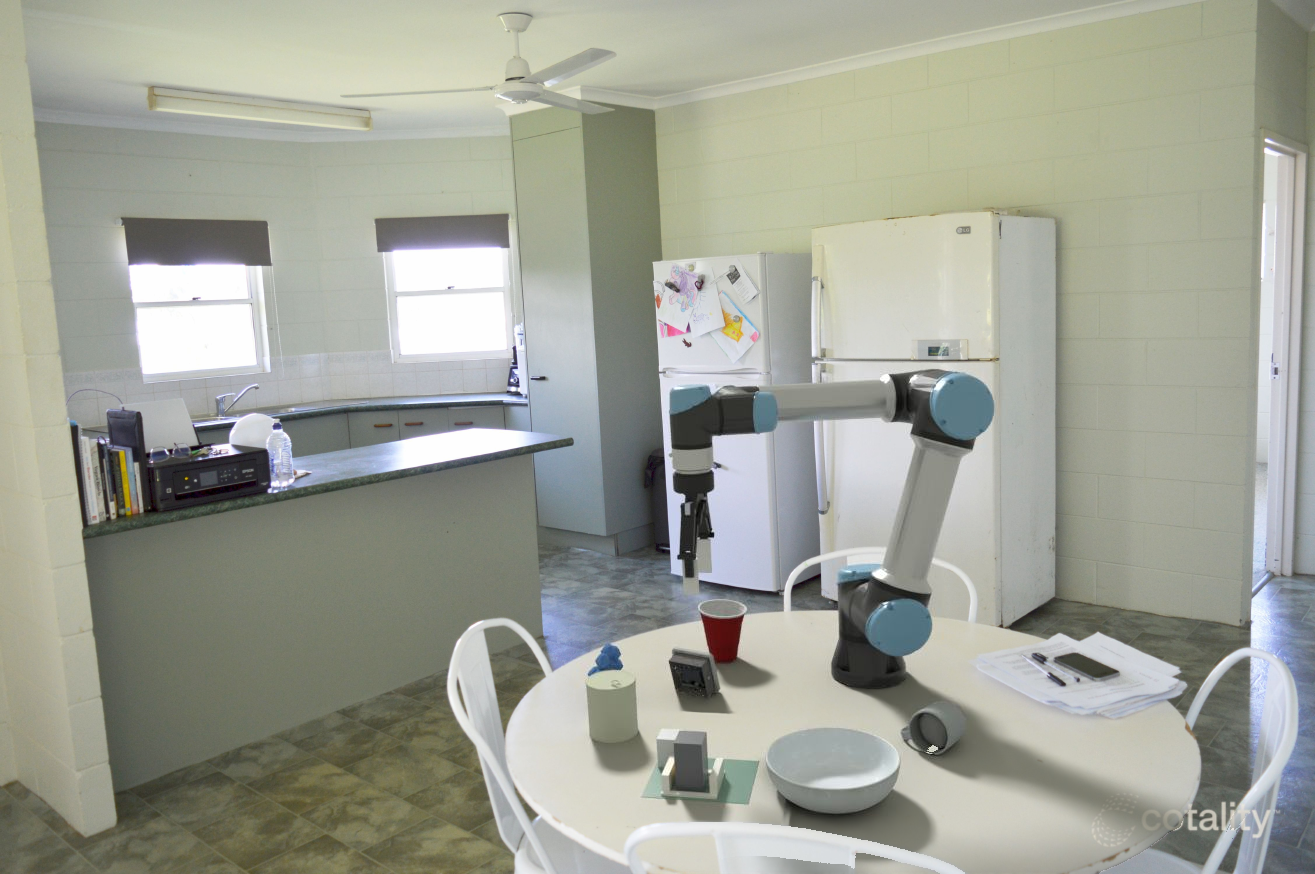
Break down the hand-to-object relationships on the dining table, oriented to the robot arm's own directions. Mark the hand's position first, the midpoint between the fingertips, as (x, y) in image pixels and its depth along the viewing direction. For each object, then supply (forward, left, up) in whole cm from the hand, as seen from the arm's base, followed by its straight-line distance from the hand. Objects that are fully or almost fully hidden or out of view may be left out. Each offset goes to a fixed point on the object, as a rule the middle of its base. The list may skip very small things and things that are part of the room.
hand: (698, 582), depth 179 cm
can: (+15, +10, -27) cm, 32 cm away
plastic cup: (+1, -31, -27) cm, 41 cm away
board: (-4, +25, -27) cm, 37 cm away
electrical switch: (+4, -12, -27) cm, 30 cm away
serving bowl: (-25, +25, -27) cm, 44 cm away
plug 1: (+2, +20, -25) cm, 32 cm away
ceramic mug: (-41, +5, -27) cm, 49 cm away
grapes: (+21, -5, -27) cm, 34 cm away
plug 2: (-3, +27, -25) cm, 37 cm away
